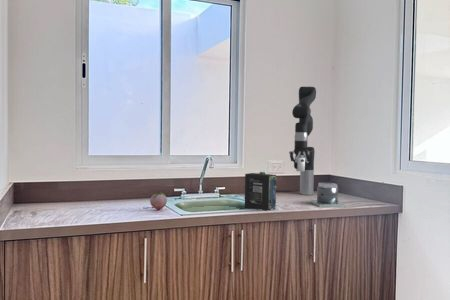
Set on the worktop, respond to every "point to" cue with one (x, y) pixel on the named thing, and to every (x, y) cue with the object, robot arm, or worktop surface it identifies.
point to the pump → (301, 163)
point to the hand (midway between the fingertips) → (300, 168)
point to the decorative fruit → (158, 201)
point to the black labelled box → (260, 191)
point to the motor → (327, 196)
